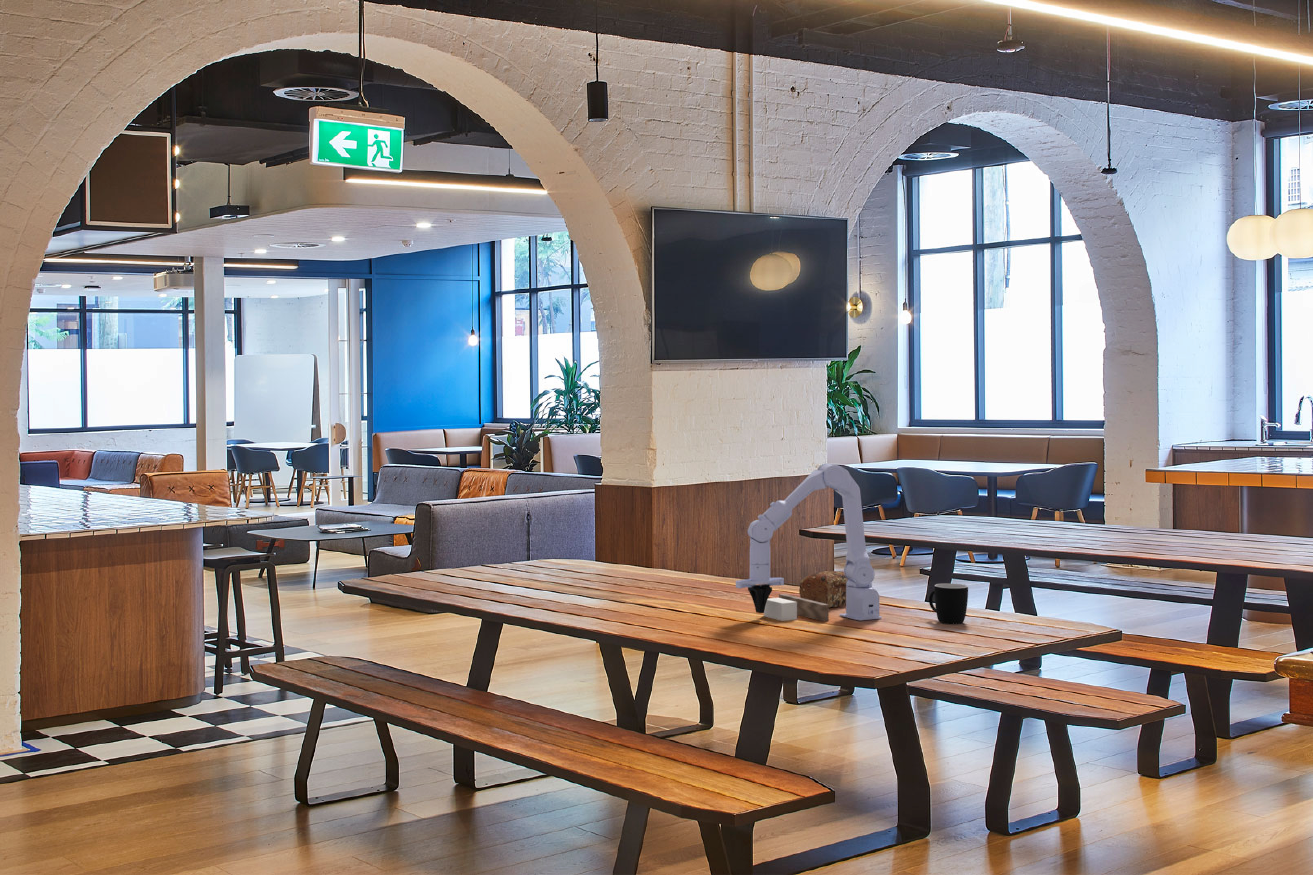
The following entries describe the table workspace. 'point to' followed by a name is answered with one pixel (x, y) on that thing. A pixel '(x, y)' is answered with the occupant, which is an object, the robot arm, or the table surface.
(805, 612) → the board
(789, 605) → the block
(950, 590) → the mug
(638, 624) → the table surface
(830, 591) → the bread
